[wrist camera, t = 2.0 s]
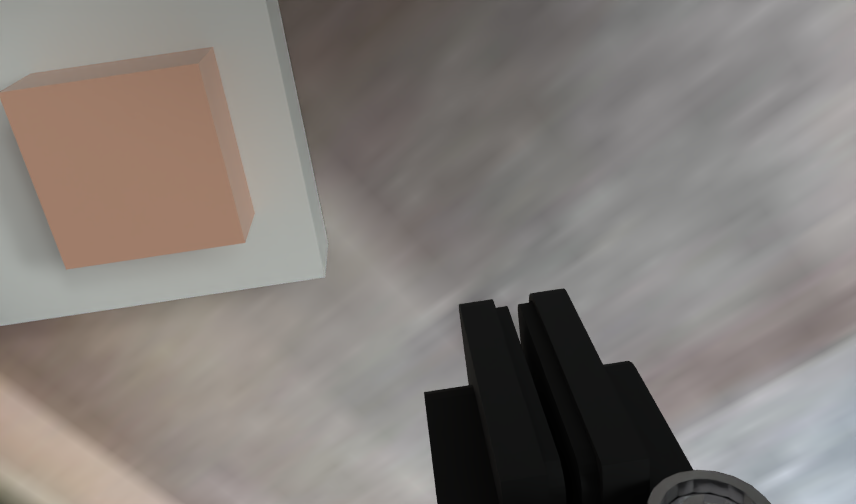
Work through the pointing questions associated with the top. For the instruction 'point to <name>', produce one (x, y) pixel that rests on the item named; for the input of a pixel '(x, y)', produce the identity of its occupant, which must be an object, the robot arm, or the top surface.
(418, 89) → the top surface
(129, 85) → the tile
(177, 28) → the plate
